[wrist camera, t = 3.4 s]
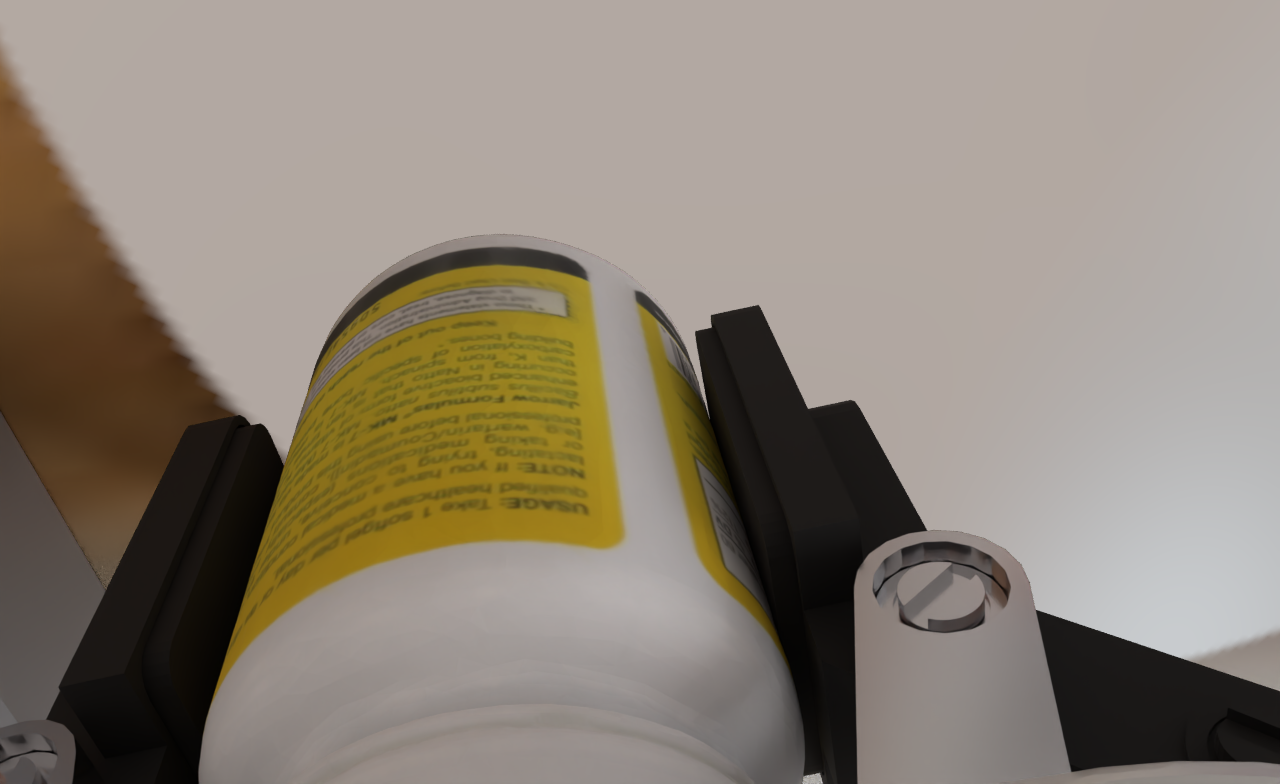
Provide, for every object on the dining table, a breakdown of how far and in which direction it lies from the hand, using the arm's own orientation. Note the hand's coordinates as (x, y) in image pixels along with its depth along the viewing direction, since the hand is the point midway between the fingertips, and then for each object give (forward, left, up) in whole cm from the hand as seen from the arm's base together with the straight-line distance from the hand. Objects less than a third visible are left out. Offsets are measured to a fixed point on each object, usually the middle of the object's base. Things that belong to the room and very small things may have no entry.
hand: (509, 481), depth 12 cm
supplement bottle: (0, 0, -2) cm, 2 cm away
